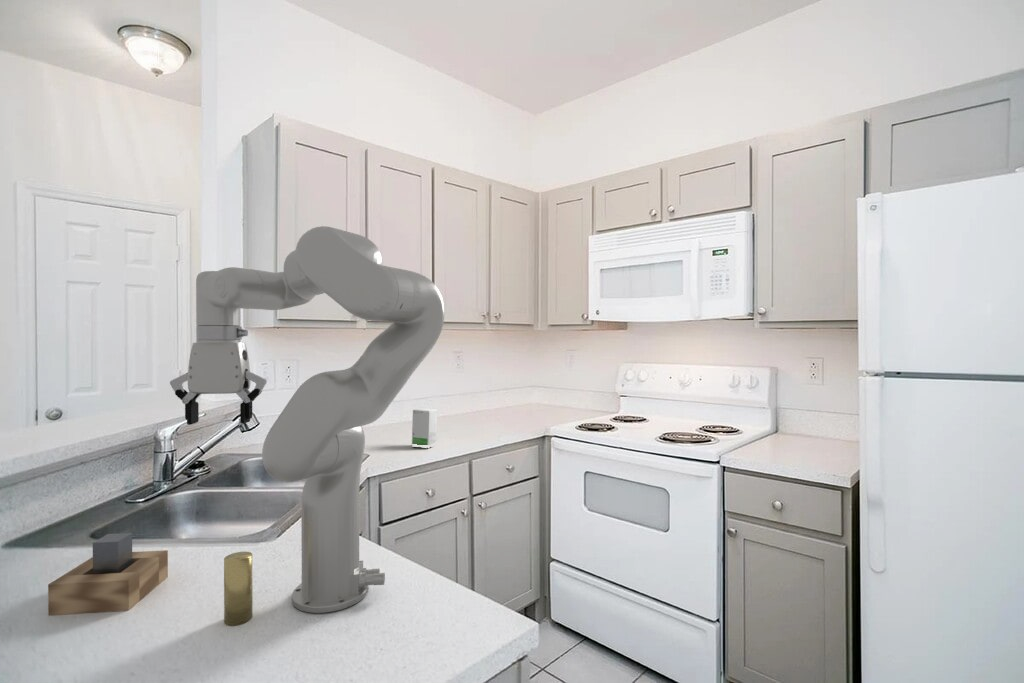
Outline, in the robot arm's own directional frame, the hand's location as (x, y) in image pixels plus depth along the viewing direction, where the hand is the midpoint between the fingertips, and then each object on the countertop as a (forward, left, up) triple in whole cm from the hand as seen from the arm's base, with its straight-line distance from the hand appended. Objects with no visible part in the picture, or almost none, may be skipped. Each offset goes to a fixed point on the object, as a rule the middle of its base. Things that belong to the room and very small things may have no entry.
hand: (219, 423), depth 101 cm
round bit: (-11, +20, -28) cm, 36 cm away
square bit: (+14, +9, -28) cm, 33 cm away
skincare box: (-35, -107, -28) cm, 116 cm away
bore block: (+14, +9, -28) cm, 33 cm away
